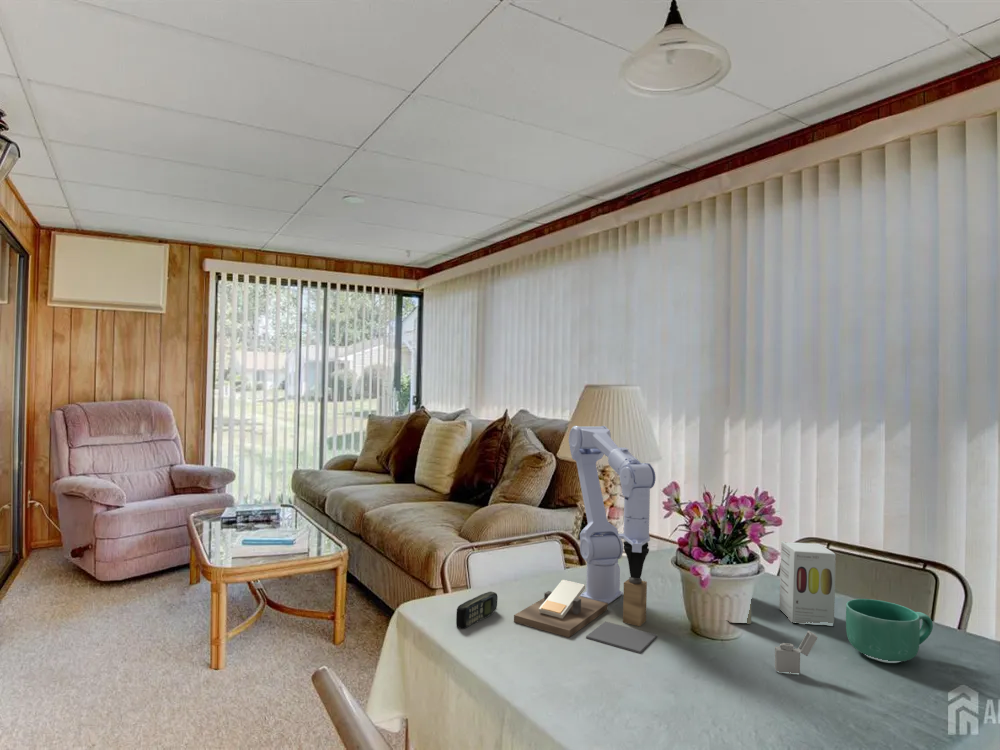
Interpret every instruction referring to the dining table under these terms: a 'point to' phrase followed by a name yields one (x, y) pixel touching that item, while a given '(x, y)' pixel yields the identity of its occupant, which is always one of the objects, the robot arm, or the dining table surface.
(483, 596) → the mobile phone
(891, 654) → the mug
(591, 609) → the switch panel
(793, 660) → the lighter
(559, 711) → the dining table surface
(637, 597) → the wood grain block
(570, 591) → the white two-tone slab
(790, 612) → the supplement box
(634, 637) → the rest mat
